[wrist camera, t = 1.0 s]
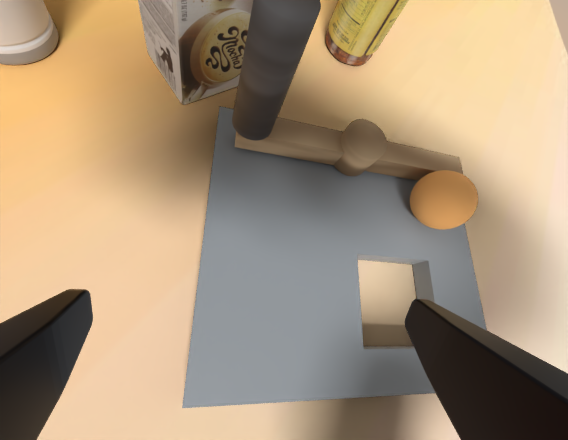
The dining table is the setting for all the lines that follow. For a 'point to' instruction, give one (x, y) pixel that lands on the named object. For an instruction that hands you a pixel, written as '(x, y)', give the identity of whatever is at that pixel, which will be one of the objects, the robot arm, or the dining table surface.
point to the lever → (299, 136)
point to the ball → (443, 199)
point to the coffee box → (197, 43)
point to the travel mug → (25, 32)
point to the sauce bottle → (360, 28)
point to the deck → (308, 280)
